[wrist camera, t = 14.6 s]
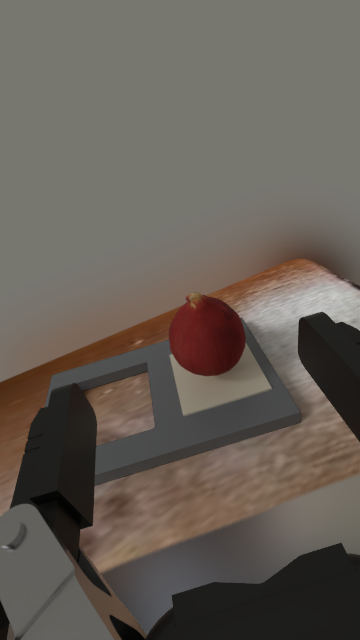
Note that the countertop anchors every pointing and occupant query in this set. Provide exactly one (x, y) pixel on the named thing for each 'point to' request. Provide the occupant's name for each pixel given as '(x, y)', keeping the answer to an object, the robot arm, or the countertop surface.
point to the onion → (206, 336)
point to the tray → (187, 406)
